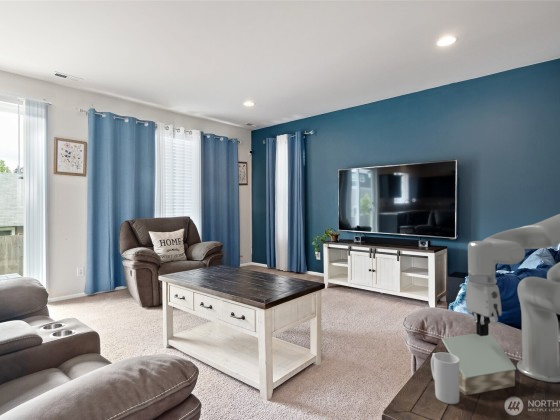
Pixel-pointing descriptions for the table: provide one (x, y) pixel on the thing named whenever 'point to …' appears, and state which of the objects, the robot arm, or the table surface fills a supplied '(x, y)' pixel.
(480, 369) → the lid
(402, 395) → the table surface
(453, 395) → the mug
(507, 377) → the beige box
